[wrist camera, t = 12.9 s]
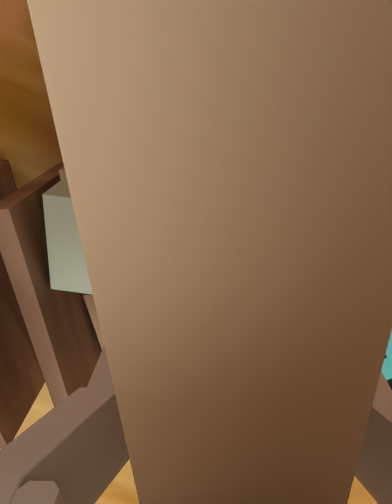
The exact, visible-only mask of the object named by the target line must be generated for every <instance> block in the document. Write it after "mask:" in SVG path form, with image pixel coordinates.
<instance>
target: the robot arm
mask: <svg viewBox="0 0 392 504" xmlns="http://www.w3.org/2000/svg"><path fill="white" fill-rule="evenodd" d="M128 460H129V454H128V449H127V445H126V441H125V436H124V432H123V427H122V423H121V418H120V414H119V409H118V405H117V400H116V396H115V391H114V387H113V383H112V378H111V374H110V369H109V365H108V360H107V356H106V351H105V347H103V350H102V352H101V354H100V357H99V359H98V362H97V364H96V366H95V369H94V371H93V373H92V376H91V378H90V381H89V383H88V385H87V387H84V388H79V389H77V390H76V391H75V392H73V393H72V394H71V395H70V396H68V397H67V398H66V399H65V400H63V401H62V402H61V403H59V404H58V405H57V406H56V407H54V408H53V409H52V410H51V411H49V412H48V413H47V414H45V415H44V416H43V417H42V418H40V419H39V420H38V421H37V422H35V423H34V424H33V425H32V426H30V427H29V428H28V429H26V430H25V431H24V432H23V433H21V434H20V435H19V436H18V437H16V438H15V439H14V440H12V441H11V442H10V443H9V444H7V445H6V446H5V447H4V448H2V449H1V450H0V504H95V502H96V501H97V500H98V498H99V497H100V496H101V495H102V493H103V492H104V491H105V489H106V488H107V487H108V486H109V484H110V483H111V482H112V480H113V479H114V478H115V476H116V475H117V474H118V473H119V471H120V470H121V469H122V467H123V466H124V465H125V464H126V462H127V461H128ZM355 476H356V478H357V479H358V480H359V481H360V482H361V484H362V485H363V486H364V487H365V488H366V490H367V491H368V492H369V493H370V494H371V496H372V497H373V498H374V499H375V500H376V501H377V503H378V504H392V390H391V388H390V386H389V384H388V382H387V381H386V379H385V377H384V375H383V373H382V371H381V373H380V377H379V381H378V385H377V389H376V393H375V397H374V401H373V405H372V408H371V412H370V416H369V420H368V424H367V428H366V432H365V436H364V440H363V443H362V447H361V451H360V455H359V459H358V463H357V467H356V471H355Z"/></svg>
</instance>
